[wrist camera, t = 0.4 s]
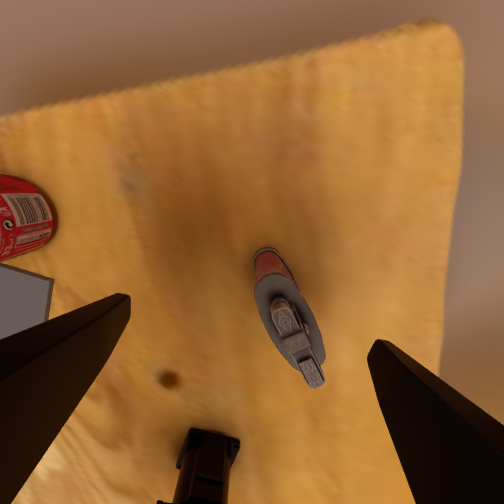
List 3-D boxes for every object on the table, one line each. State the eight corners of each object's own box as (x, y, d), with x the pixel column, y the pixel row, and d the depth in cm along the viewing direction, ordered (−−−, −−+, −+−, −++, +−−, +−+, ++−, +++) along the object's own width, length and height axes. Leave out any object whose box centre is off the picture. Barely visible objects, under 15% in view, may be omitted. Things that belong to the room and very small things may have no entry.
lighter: (245, 256, 23) (241, 307, 13) (277, 240, 22) (297, 282, 13) (280, 322, 25) (299, 409, 15) (310, 309, 24) (349, 390, 15)
